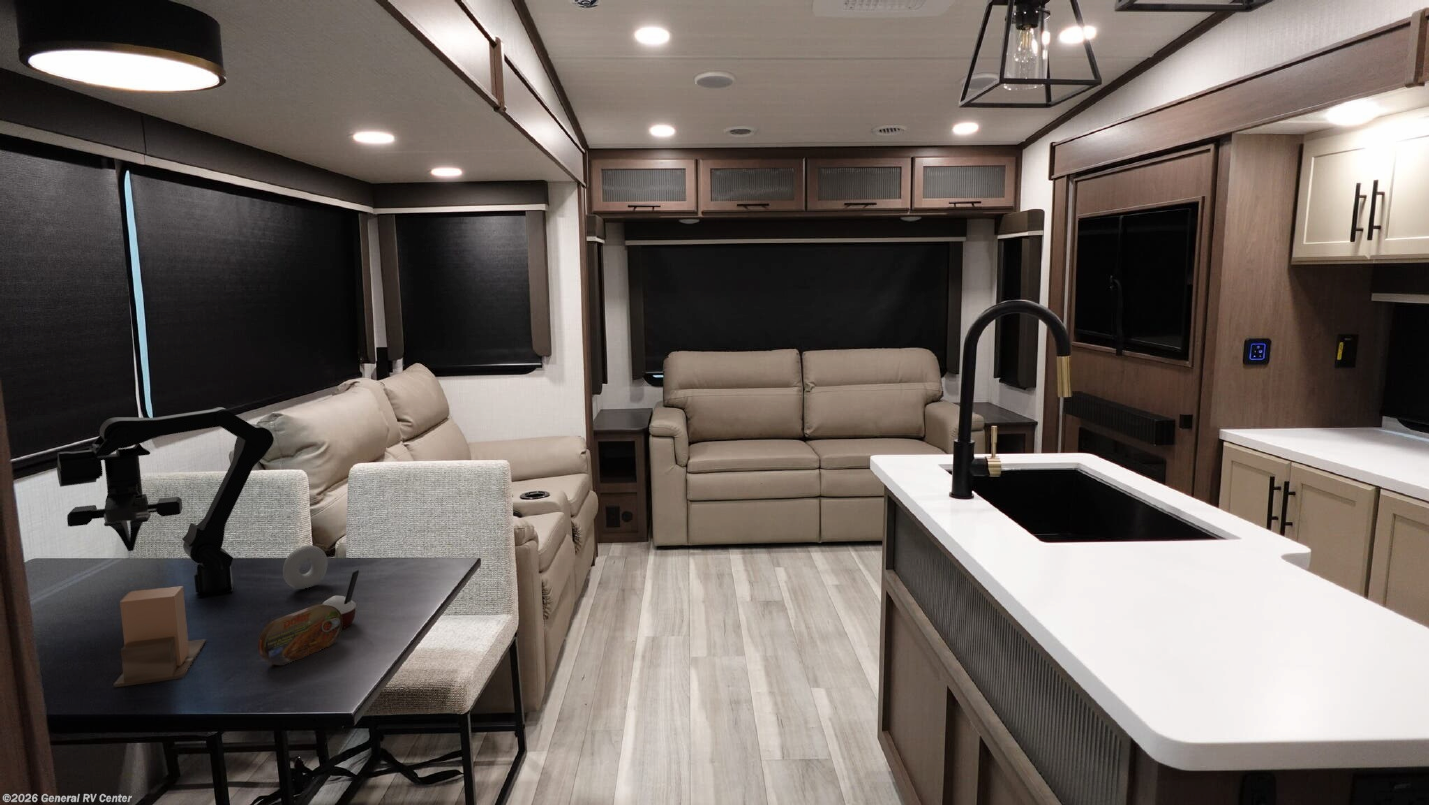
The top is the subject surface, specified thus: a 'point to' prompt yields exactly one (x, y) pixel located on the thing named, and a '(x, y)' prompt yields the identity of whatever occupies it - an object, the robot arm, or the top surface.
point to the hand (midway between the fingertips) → (131, 550)
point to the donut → (294, 563)
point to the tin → (300, 634)
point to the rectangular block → (156, 617)
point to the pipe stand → (154, 661)
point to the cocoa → (345, 602)
